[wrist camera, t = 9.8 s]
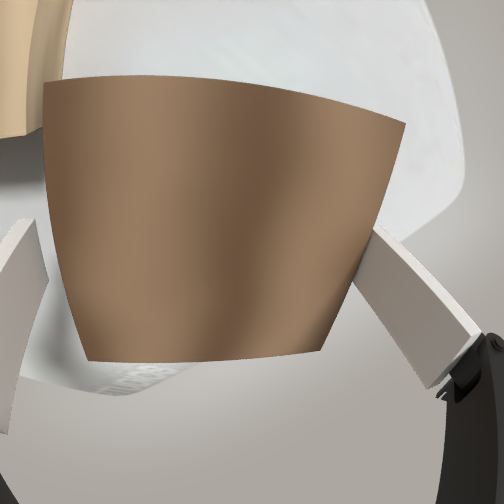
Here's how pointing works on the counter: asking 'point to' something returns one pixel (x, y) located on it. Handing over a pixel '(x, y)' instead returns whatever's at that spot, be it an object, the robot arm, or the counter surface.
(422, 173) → the counter surface
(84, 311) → the lid
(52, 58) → the tan wooden block
